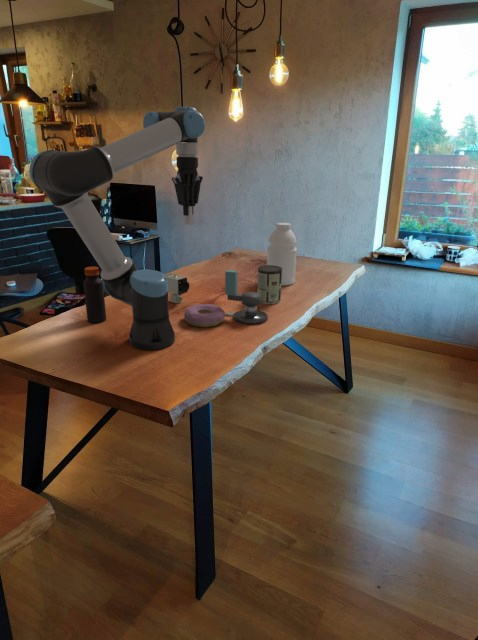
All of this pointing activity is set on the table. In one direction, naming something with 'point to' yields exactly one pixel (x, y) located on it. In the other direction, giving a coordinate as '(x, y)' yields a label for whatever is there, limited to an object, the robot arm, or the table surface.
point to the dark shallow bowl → (249, 315)
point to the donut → (204, 315)
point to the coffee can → (269, 284)
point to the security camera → (177, 287)
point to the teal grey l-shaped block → (231, 290)
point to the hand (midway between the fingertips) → (188, 224)
